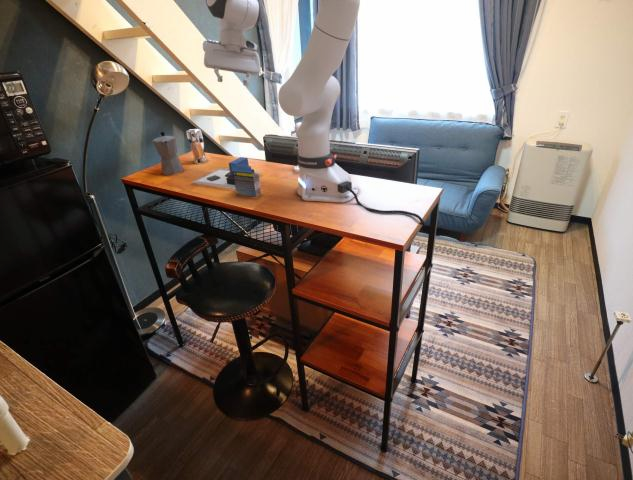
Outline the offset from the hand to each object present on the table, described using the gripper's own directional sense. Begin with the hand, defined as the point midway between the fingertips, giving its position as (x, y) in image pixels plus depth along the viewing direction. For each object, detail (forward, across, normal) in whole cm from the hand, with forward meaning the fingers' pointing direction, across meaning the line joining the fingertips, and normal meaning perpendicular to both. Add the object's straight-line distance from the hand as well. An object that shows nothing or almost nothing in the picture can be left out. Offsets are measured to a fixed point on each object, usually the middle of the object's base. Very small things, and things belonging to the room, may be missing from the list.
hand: (233, 83), depth 127 cm
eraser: (+34, +4, +9) cm, 36 cm away
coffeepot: (+29, -20, +40) cm, 53 cm away
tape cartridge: (+42, +4, -5) cm, 42 cm away
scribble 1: (+34, -6, +16) cm, 38 cm away
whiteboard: (+34, 0, +15) cm, 37 cm away
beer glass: (+24, -7, +46) cm, 52 cm away
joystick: (+30, +32, +5) cm, 44 cm away
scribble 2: (+32, +2, +16) cm, 36 cm away
